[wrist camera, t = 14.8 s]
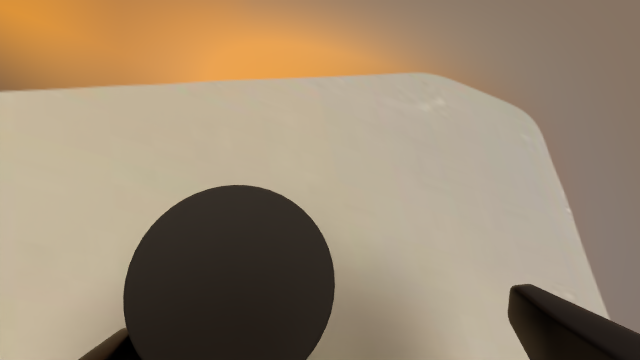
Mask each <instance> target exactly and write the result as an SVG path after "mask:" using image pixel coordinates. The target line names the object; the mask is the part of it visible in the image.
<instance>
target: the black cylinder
mask: <svg viewBox="0 0 640 360" xmlns="http://www.w3.org/2000/svg"><path fill="white" fill-rule="evenodd" d="M334 289H335V282H334V269H333V263H332V258H331V255H330V251H329V248H328V246H327V244H326V241H325V239H324V237H323V235H322V233H321V232H320V230H319V228H318V227H317V225H316V224H315V223H314V221H313V220H312V219H311V218H310V217H309V216H308V215H307V214H306V212H305V211H304V210H303V209H301V208H300V207H299V206H298V205H296V204H295V203H294V202H292V201H291V200H289V199H287V198H286V197H284V196H282V195H280V194H277V193H275V192H273V191H270V190H267V189H263V188H260V187H254V186H247V185H230V186H220V187H216V188H211V189H207V190H205V191H202V192H199V193H196V194H194V195H192V196H190V197H188V198H186V199H184V200H182V201H181V202H179V203H177V204H176V205H174V206H173V207H171V208H170V209H169V210H168V211H167V212H165V213H164V214H163V215H162V216H161V217H160V218H159V219H158V220H157V221H156V222H155V223H154V224H153V225H152V226H151V227H150V229H149V230H148V231H147V233H146V234H145V235H144V237H143V238H142V240H141V242H140V243H139V245H138V247H137V249H136V250H135V252H134V255H133V257H132V260H131V262H130V265H129V268H128V272H127V276H126V279H125V287H124V295H123V300H124V316H125V322H126V327H127V330H128V333H129V337H130V340H131V342H132V344H133V346H134V348H135V350H136V352H137V354H138V355H139V357H140V358H141V360H306V359H307V357H308V356H309V355H310V354H311V353H312V351H313V350H314V348H315V347H316V345H317V343H318V342H319V340H320V339H321V336H322V334H323V332H324V330H325V328H326V326H327V323H328V320H329V317H330V314H331V310H332V305H333V300H334Z"/></svg>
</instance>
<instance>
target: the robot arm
mask: <svg viewBox="0 0 640 360" xmlns="http://www.w3.org/2000/svg"><path fill="white" fill-rule="evenodd" d="M508 318H509V321H510V324H511V326H512V327H513V329H514V331H515V333H516V335H517V337H518V339H519V340H520V342H521V344H522V346H523V348H524V350H525V351H526V353H527V355H528V357H529V359H530V360H640V334H639V333H636V332H634V331H632V330H630V329H627V328H625V327H623V326H621V325H619V324H617V323H615V322H612V321H610V320H608V319H606V318H604V317H601V316H599V315H597V314H595V313H593V312H590V311H588V310H586V309H584V308H582V307H580V306H577V305H575V304H573V303H571V302H569V301H566V300H564V299H562V298H560V297H558V296H555V295H553V294H551V293H549V292H547V291H545V290H542V289H540V288H538V287H536V286H534V285H531V284H522V285H514V286H512V287H511V289H510V295H509V305H508ZM78 360H141V358H140V357H139V355H138V354H137V352H136V350H135V348H134V346H133V344H132V342H131V340H130V337H129V333H128V330H127V328H123V329H121V330H119V331H118V332H116V333H115V334H114V335H112V336H111V337H109V338H108V339H106V340H105V341H104V342H102V343H101V344H99V345H98V346H97V347H95V348H94V349H92V350H91V351H90V352H88V353H87V354H85V355H84V356H83V357H81V358H80V359H78Z"/></svg>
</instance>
